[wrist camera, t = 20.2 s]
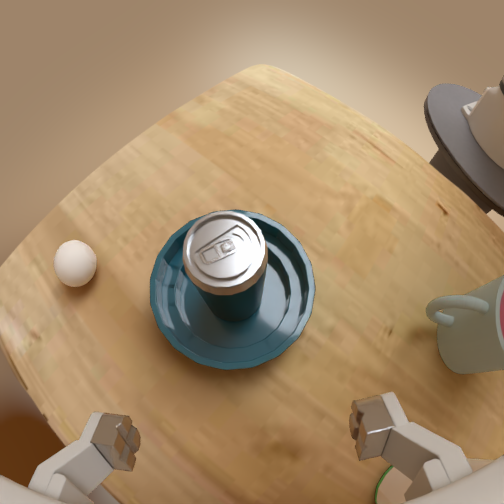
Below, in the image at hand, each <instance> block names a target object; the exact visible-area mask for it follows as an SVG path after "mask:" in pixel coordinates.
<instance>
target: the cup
mask: <svg viewBox="0 0 504 504" xmlns="http://www.w3.org/2000/svg"><path fill="white" fill-rule="evenodd" d="M466 459H467V460H468V462H469V464H470V466H471V468H472V470H473V472H474V471H476V470H478V469H480V468H482V467H484V466H485V465H487V464H489V463H491V462H492V461H494V460H486V459H472V458H466ZM412 482H413V481H412V480H410V479H409V478H408V477H407V476H405V475H404V474H403V473H401V472H400V471H399V470H397V469H396V468H395V467H394V466H391V467H390V468H389V469H388V470H387V471H386V472H385V473H384V475H383V476H382V478H381V479H380V481H379V483H378V485H377V487H376V492H375V502H376V504H401V503H403V502H406V500H405V497H404V493H405V492H406V491H407V489H408V488H409V486H410V485H411V483H412Z"/></svg>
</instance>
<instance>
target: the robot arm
mask: <svg viewBox="0 0 504 504" xmlns="http://www.w3.org/2000/svg"><path fill="white" fill-rule="evenodd" d="M499 85H500V86H498V87H491V88H490V87H487V88H486V89H485V90H484V93H483V95H482V96H481V98H480V99H478V101H476V102H473V103H470V104H468V105H465V106H463V107H462V108H461V112H462V114H463V115H464V117H465V118H466V120H467V121H468V124H469V127H470V130H471V132H472V134H473V136H474V138H475V139H476V141H477V142H478V144H479V145H480V147H481V148H482V149H483V150H484V152H485V153H486V154H487V155H488V156H489V157H490V158H491V159H492V160H493V161H494V162H495V163H496V164H497V165H498V166H500V167H501V168H502V169H504V76H503V78H502V80H501V82H500V84H499ZM351 409H352V412H353V413H352V414H351V415H350V418H349V427H350V432H351V436H352V438H353V439H355V440H356V445H355V449H356V452H357V455H358V458H359V461H360V460H365V459H369V458H374V457H378V456H381V457H382V458H384V459H385V460H386V461H387V462H389V463H390V464H391V465H392V466H394V467H395V468H396V469H397V470H399V471H400V472H401V473H403V474H404V475H405V476H407V477H408V478H409V479H410V480H412V481H413V482H412V483H411V485H410V486H409V488H408V489H407V491H406V492H405V493H404V497H405V500H406V502H403V503H401V504H504V455H502V456H500V457H499V458H497V459H496V460H494V461H492V462H491V463H489V464H487V465H485V466H484V467H482V468H480V469H478V470H476V471H474V472H473V470H472V468H471V466H470V464H469V462H468V460H467V459H466V457H465V455H464V453H463V451H462V449H461V447H460V446H458V445H456V444H454V443H452V442H450V441H448V440H446V439H444V438H442V437H440V436H438V435H436V434H435V433H433V432H431V431H429V430H427V429H425V428H424V427H422V426H420V425H418V424H416V423H414V422H410V423H409V421H408V419H407V417H406V415H405V413H404V411H403V409H402V407H401V405H400V403H399V401H398V399H397V397H396V395H395V394H394V393H393V392H389V393H385V394H381V395H376V396H372V397H368V398H363V399H359V400H355V401H353V402H352V406H351ZM131 424H132V420H131V418H130V417H129V416H126V415H118V414H110V413H102V412H95V411H94V412H93V413H92V414H91V416H90V418H89V420H88V422H87V424H86V426H85V428H84V430H83V432H82V435H81V437H80V439H79V441H78V440H75V441H74V442H72V443H71V444H69V445H68V446H67V447H65V448H64V449H62V450H61V451H59V452H58V453H56V454H55V455H53V456H52V457H50V458H49V459H47V460H46V461H44V462H43V463H41V464H40V465H38V467H37V469H36V471H35V473H34V475H33V477H32V479H31V481H30V484H29V486H28V488H26V487H24V486H22V485H20V484H18V483H16V482H14V481H12V480H10V479H8V478H6V477H4V476H2V475H0V504H95V503H94V502H93V501H91V500H90V499H89V498H88V497H87V496H88V495H89V494H90V493H91V492H92V491H93V490H94V489H95V488H96V487H97V486H98V485H99V484H100V483H101V482H102V481H103V480H104V479H105V478H106V477H107V476H108V475H109V474H110V473H111V472H112V471H113V470H114V469H118V470H125V471H133V468H134V465H135V461H136V457H135V455H134V453H136V452H137V451H138V450H139V447H140V434H139V432H138V430H137V428H135V427H134V426H133V425H131Z"/></svg>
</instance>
